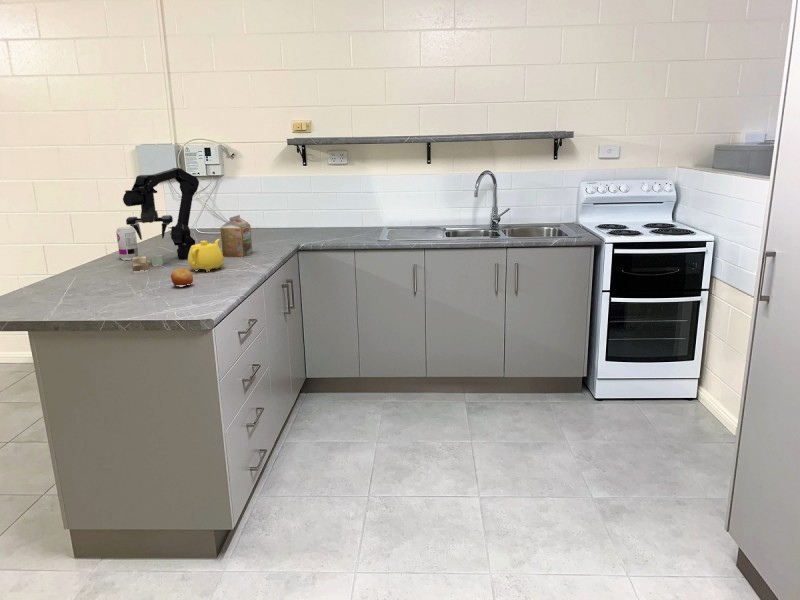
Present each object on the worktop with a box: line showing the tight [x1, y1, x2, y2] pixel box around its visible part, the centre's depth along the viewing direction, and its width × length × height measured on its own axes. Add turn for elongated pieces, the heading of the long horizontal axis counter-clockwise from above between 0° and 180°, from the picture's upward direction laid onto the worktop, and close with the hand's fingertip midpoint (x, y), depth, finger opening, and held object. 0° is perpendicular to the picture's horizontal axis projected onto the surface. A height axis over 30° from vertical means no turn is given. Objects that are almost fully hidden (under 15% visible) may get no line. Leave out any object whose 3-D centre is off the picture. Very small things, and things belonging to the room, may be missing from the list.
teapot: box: [187, 238, 224, 271], centre depth 266 cm, size 14×20×13 cm
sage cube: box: [150, 253, 164, 266], centre depth 278 cm, size 4×4×4 cm
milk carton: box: [219, 214, 254, 258], centre depth 296 cm, size 11×11×19 cm
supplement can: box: [115, 226, 140, 258], centre depth 291 cm, size 8×8×15 cm
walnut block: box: [131, 262, 150, 272], centre depth 264 cm, size 6×6×4 cm
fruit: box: [170, 267, 194, 286], centre depth 237 cm, size 8×8×8 cm
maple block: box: [132, 255, 148, 266], centre depth 263 cm, size 5×5×3 cm
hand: (152, 239), depth 274 cm, fingers open, 9 cm apart
